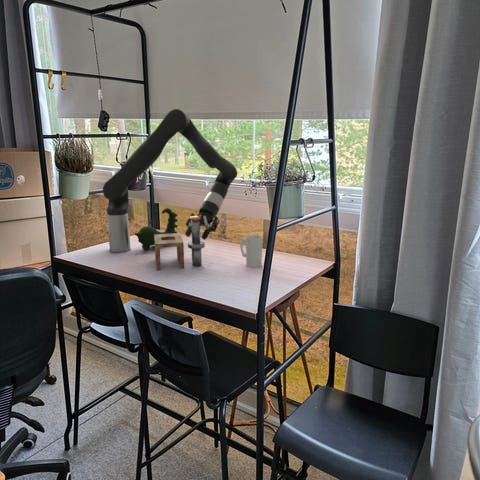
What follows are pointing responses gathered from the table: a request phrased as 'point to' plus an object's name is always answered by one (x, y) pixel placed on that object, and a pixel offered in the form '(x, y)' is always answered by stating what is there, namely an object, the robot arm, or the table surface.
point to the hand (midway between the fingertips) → (195, 237)
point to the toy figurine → (148, 232)
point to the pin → (196, 241)
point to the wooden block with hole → (169, 241)
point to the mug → (252, 250)
